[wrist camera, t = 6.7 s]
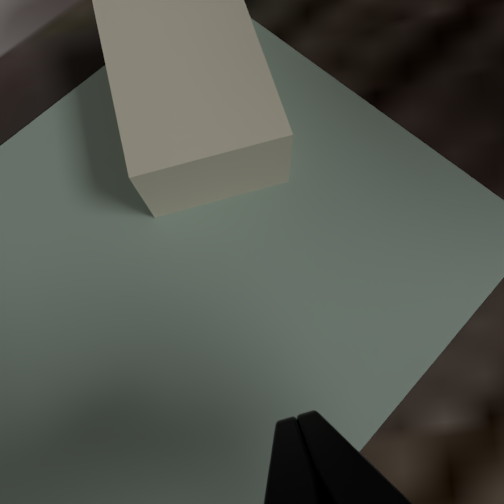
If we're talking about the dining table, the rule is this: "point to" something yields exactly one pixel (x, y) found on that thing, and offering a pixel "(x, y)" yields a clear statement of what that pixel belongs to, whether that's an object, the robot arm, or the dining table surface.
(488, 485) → the dining table surface
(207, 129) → the card box
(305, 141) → the rubber mat
